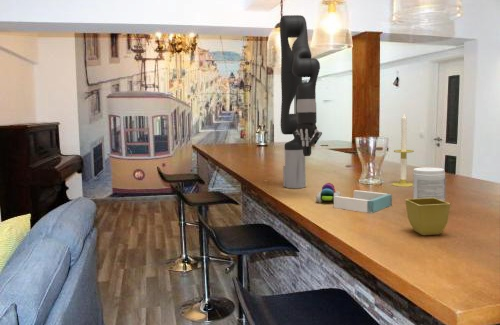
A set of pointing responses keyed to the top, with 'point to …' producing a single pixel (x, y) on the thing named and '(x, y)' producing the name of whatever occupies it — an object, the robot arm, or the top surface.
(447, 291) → the top surface
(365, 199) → the bay
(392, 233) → the top surface
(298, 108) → the robot arm
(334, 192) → the multicoloured petal flower toy
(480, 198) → the top surface
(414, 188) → the supplement tub
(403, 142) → the candle
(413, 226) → the flower pot
